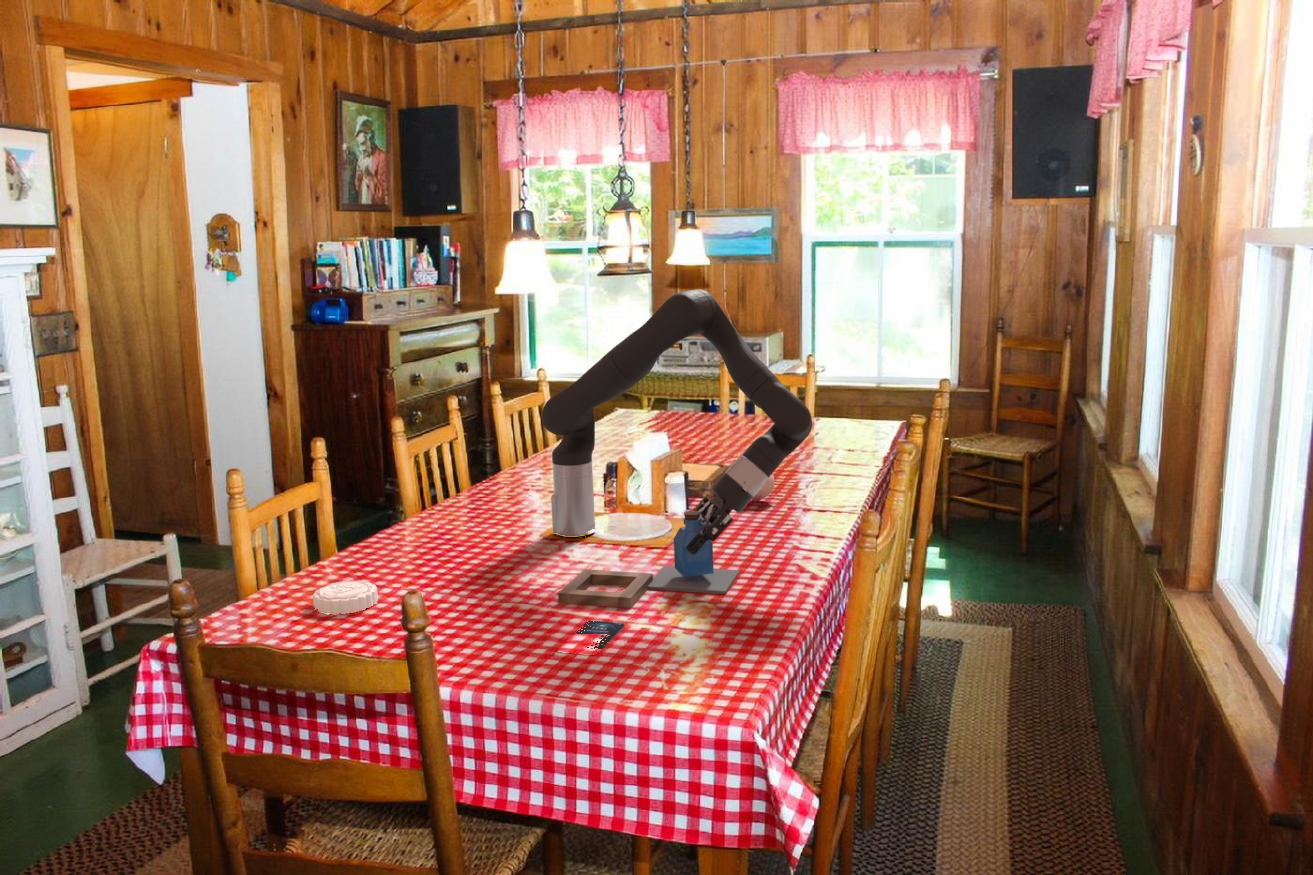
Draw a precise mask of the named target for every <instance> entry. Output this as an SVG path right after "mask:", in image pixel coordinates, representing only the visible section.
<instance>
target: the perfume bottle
mask: <svg viewBox="0 0 1313 875" xmlns="http://www.w3.org/2000/svg"><path fill="white" fill-rule="evenodd" d="M683 514H684V518H683V524H684V526H682V527H679V529H678V530H677V532H676V534H675V536H674V537H673V554H674V555H673V556H674V567H675V569H676V570H677V571H678V572H679V573H680V574H681V575H682V576H683V577H689V576H697V575H705V574H713V573H714V569H715V568H714V546H713V545H714V543H713V542H712V541H711V540H710V541H706V542H705V544H704V545H703V546H702V547H701V548H700V549H699V551H698V552H697V553H696V554H694V555H693V554H692V553H691V552H689V551H688V550H687V549H686V547H687V545H688V544H689V543H690V542H691V541H692V540H693V538H694V537H695V536H696V535H697V534H699V532H700V530H701V528H702V527H700V524H701V518H700V517H699V515H700V512H699V511H694V510H687V511H684V513H683ZM699 535H700V534H699Z"/></svg>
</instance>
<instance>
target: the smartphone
mask: <svg viewBox="0 0 1313 875" xmlns="http://www.w3.org/2000/svg"><path fill="white" fill-rule="evenodd" d="M587 621H588V622H589V623H588V622H587ZM587 621H585V622H586V623H587V624H588V625H589V626H588V625H587V624H586V623H585V622H584V623H585V624H584V623H583V624H584V625H583V624H582V625H583V626H584V627H586V628H584V627H583V628H582V627H581V626H580V627H581V629H583V630H581V629H580V630H578V629H577V630H578V631H580V632H578V631H577V630H576V631H577V632H576V631H575V632H576V633H577V634H607V635H610V636H608V637H606V636H607V635H606V636H605V637H604V636H603V635H602V636H601V637H604V638H603V639H602V638H599V639H602V640H601V641H600V643H599V646H598V647H597V646H595V647H594V649H595V648H598V649H603V648H604V647H605V646H606V645H607V644H608V643H607V642H610V640H611V641H613V640H614V638H615V637H616V636H617V635H619V634H620V633H619V632H622V631H623V629H624V628H625V627H626V625H625V623H623V622H614V621H613V622H612V621H604V620H587ZM593 621H594V622H593ZM590 626H591V627H590ZM584 630H585V631H584ZM575 632H574V633H573V634H575ZM581 632H582V633H581ZM616 634H617V635H616ZM614 636H615V637H614ZM613 637H614V638H613ZM605 639H606V640H605ZM602 641H604V642H602ZM597 642H598V641H597ZM593 643H594V642H593ZM610 643H611V642H610ZM597 644H598V643H596V644H595V645H597ZM601 644H603V645H601ZM604 645H605V646H604ZM608 645H609V644H608ZM608 645H607V646H608ZM591 646H593V645H591ZM607 646H606V647H607ZM606 647H605V648H606ZM587 648H589V647H587ZM605 648H604V649H605ZM591 649H593V648H591ZM604 649H603V650H604Z"/></svg>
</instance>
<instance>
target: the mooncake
mask: <svg viewBox="0 0 1313 875" xmlns="http://www.w3.org/2000/svg"><path fill="white" fill-rule="evenodd" d="M312 601H313V602H312V603H313V608H314V607H315V609H314V611H315V610H316V609H318V611H319V612H324V613H332V614H339V613H341V614H346V613H353V612H357V611H361V610H365V609H366V608H369V607H371V606H373V604H376V605H377V604H378V602H379V596H378V588H377V586H376V584H373V583H371V582H369V581H363V580H352V581H351V580H347V581H346V580H342V581H339V582H333V583H330V584H328V585H326V586H323V587H320V588H318V589H317V590H315V591H314V593H313V594H312ZM377 601H378V602H377ZM373 607H374V606H373Z"/></svg>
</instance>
